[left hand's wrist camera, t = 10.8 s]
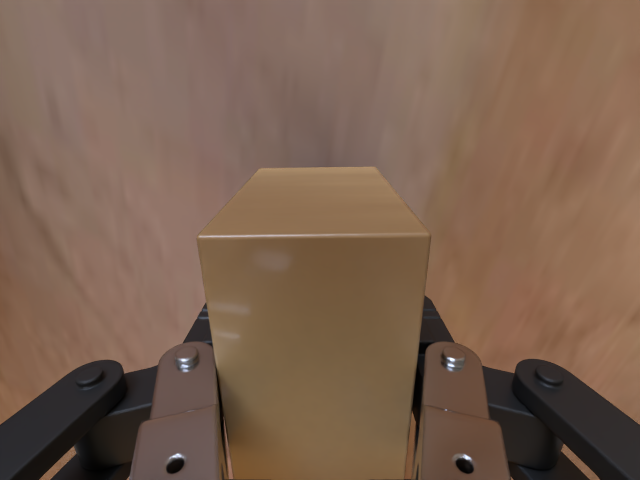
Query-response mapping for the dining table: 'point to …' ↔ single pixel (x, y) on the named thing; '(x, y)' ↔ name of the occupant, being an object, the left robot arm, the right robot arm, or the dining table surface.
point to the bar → (316, 322)
